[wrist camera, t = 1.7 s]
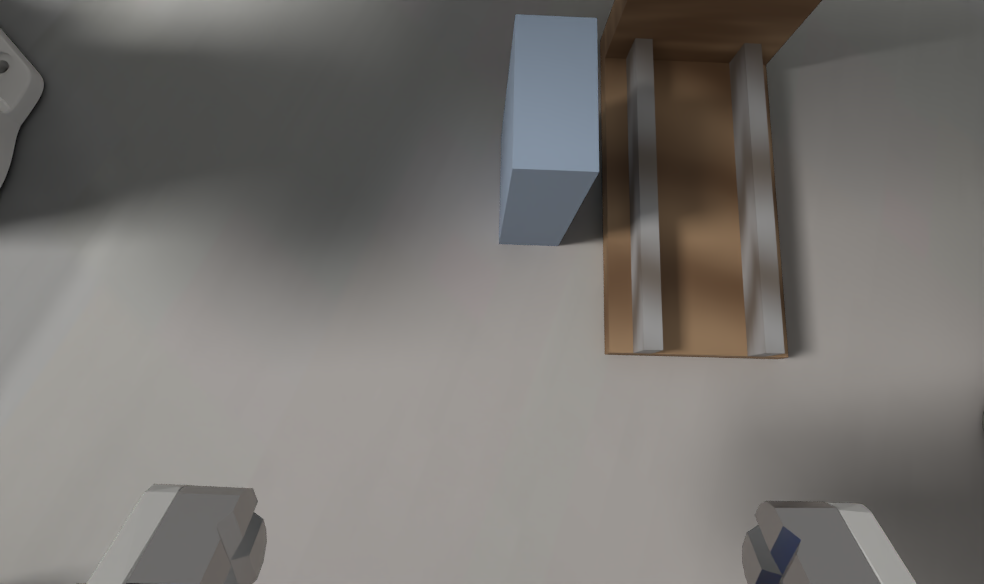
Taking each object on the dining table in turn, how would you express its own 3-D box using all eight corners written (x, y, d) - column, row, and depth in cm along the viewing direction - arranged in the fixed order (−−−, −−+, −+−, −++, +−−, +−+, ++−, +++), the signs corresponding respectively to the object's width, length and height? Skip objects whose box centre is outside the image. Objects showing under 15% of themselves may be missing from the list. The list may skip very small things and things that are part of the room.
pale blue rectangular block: (558, 245, 34) (599, 171, 23) (499, 244, 34) (512, 168, 23) (558, 136, 35) (597, 17, 25) (501, 133, 35) (515, 13, 24)
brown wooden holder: (776, 359, 33) (974, 329, 20) (604, 354, 33) (692, 320, 20) (754, 47, 37) (907, -145, 24) (600, 40, 37) (671, -159, 24)
